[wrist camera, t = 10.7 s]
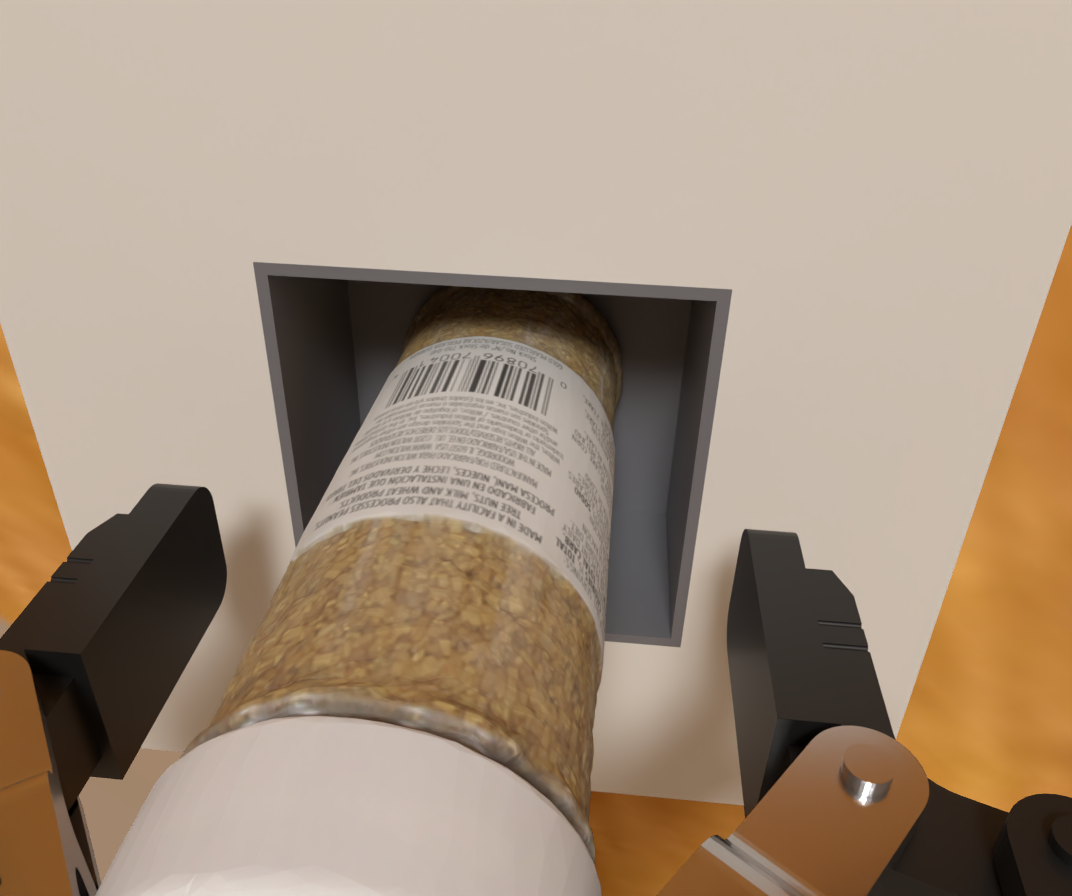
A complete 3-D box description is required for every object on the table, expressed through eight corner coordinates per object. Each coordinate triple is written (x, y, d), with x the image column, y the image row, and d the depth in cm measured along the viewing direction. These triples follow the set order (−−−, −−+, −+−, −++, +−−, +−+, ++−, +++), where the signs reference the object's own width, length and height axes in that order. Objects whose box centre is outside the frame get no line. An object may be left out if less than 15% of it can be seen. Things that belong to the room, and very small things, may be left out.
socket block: (72, -97, 16) (-128, -81, 12) (1016, -68, 15) (1161, -40, 11) (220, 596, 25) (133, 747, 21) (828, 647, 24) (869, 817, 20)
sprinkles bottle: (386, 424, 20) (35, 1133, 9) (434, 228, 18) (38, 845, 6) (587, 486, 20) (506, 1254, 9) (661, 302, 18) (679, 1021, 7)
